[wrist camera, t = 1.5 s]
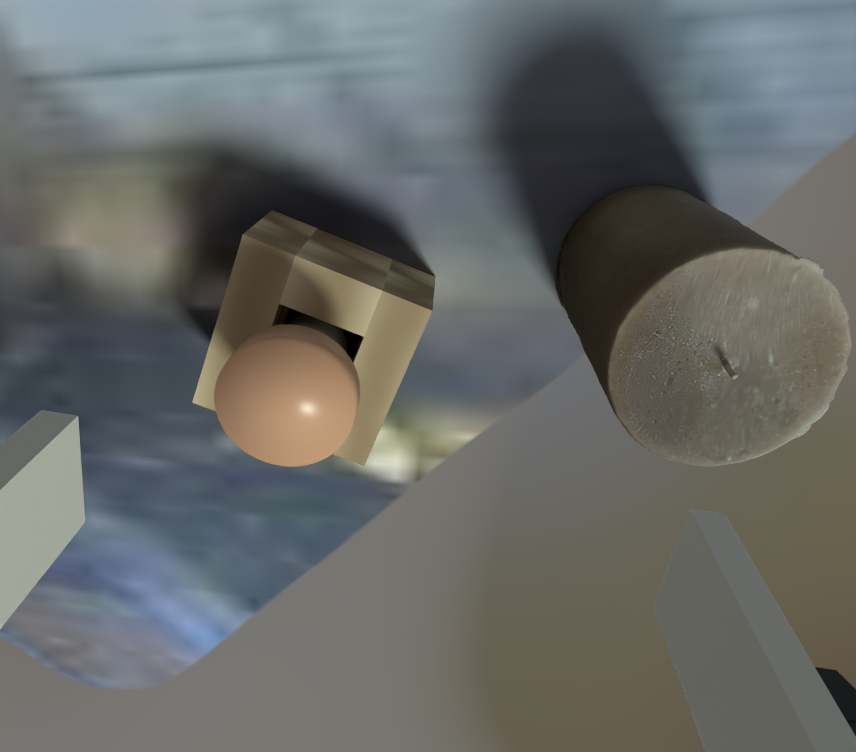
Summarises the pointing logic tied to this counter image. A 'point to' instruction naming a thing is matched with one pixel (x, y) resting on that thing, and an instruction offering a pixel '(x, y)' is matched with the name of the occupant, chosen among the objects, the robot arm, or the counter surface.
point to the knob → (289, 392)
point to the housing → (325, 310)
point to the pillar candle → (700, 326)
